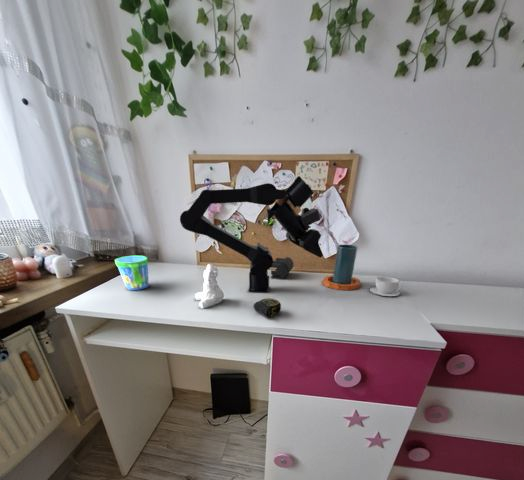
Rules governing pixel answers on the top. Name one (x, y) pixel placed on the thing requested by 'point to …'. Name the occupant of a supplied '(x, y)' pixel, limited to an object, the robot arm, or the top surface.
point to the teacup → (386, 286)
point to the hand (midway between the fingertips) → (316, 253)
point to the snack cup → (133, 271)
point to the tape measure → (268, 307)
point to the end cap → (281, 267)
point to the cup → (344, 264)
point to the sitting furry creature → (210, 289)
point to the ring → (341, 286)
